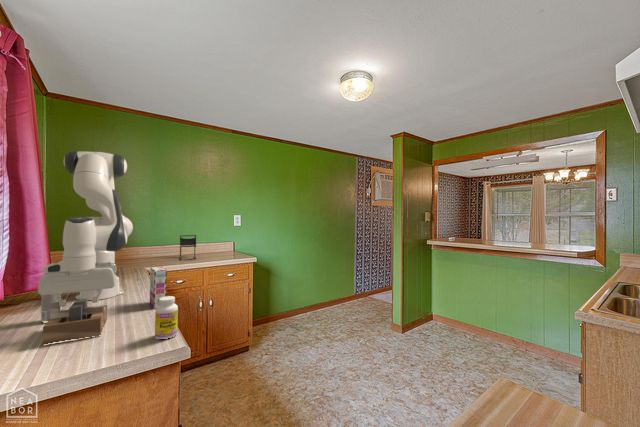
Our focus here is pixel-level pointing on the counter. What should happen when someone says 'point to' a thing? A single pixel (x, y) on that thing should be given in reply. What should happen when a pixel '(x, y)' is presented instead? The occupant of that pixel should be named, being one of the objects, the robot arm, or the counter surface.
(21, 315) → the counter surface
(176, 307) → the supplement bottle
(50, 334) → the shelf
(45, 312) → the energy drink
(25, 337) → the counter surface
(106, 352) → the counter surface
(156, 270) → the candy bar box
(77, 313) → the gray block
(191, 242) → the chair
